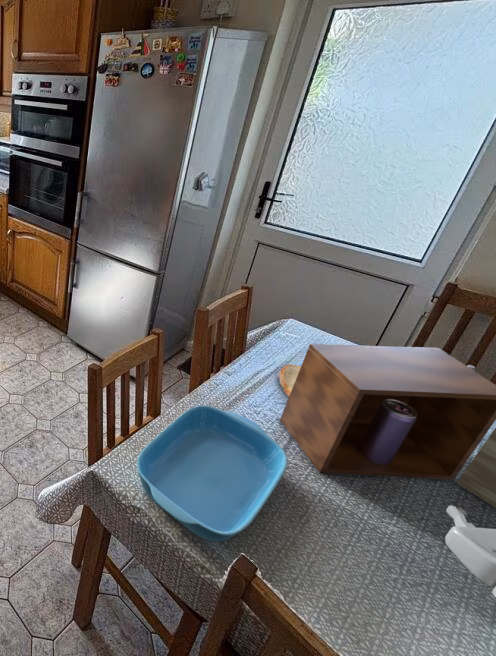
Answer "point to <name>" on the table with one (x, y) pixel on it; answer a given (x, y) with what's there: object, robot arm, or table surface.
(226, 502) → the casserole dish
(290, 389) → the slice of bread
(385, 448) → the beverage can
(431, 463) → the cupboard
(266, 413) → the table surface
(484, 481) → the cupboard door
